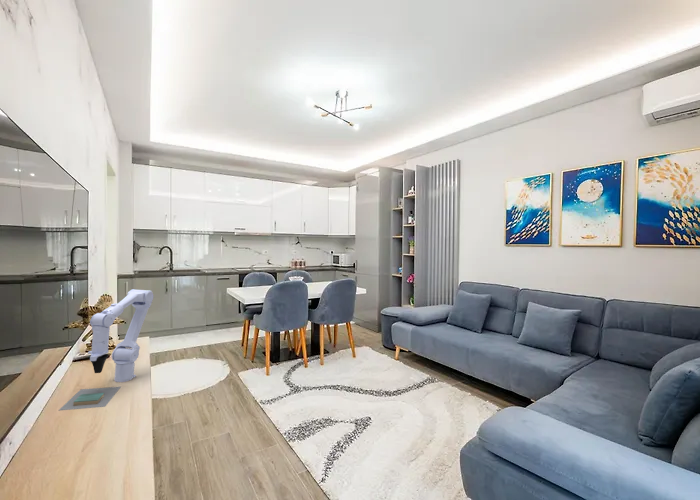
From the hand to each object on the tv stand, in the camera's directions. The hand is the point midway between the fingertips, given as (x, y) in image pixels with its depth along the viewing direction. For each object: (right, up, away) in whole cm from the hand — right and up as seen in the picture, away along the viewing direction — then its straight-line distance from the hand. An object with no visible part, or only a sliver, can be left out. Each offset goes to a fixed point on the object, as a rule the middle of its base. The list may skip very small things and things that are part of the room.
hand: (98, 372), depth 141 cm
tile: (+1, -8, -4) cm, 9 cm away
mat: (+1, -9, -4) cm, 10 cm away
